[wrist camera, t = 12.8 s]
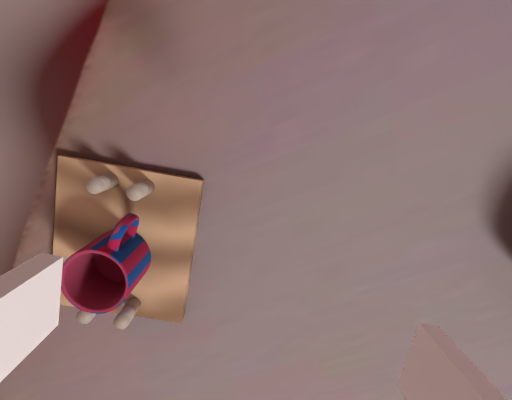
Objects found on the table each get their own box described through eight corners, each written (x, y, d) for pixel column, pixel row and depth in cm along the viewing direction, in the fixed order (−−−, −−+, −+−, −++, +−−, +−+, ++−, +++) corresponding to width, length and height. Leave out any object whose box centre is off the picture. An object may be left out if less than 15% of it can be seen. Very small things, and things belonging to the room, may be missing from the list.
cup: (83, 263, 37) (46, 291, 30) (125, 193, 35) (95, 207, 28) (133, 291, 38) (108, 325, 31) (176, 225, 36) (159, 245, 29)
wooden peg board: (64, 155, 35) (32, 158, 30) (204, 179, 36) (196, 186, 31) (56, 298, 39) (26, 322, 34) (183, 317, 40) (173, 344, 35)
